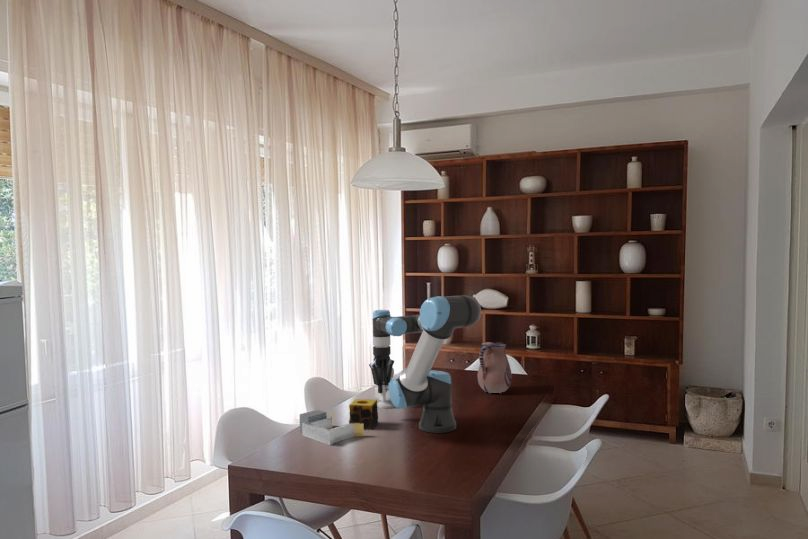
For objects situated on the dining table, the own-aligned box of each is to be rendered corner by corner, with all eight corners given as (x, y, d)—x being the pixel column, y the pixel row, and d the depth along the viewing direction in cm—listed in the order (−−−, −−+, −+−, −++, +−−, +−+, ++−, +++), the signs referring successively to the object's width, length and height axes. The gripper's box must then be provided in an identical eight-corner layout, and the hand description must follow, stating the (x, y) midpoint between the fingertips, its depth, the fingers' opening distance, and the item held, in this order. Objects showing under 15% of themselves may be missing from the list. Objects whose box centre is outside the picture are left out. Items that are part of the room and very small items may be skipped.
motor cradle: (365, 435, 220) (364, 418, 219) (332, 446, 208) (332, 427, 208) (327, 423, 237) (326, 407, 236) (295, 432, 225) (294, 415, 225)
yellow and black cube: (372, 430, 227) (372, 405, 227) (348, 429, 229) (348, 404, 229) (378, 422, 237) (378, 399, 237) (355, 421, 239) (355, 398, 239)
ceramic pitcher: (517, 390, 289) (516, 342, 289) (501, 399, 272) (500, 348, 271) (486, 386, 299) (485, 340, 298) (468, 395, 281) (468, 345, 281)
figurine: (395, 409, 257) (394, 367, 256) (370, 407, 262) (370, 365, 261) (403, 404, 265) (403, 364, 265) (379, 402, 270) (379, 362, 270)
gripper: (386, 343, 248) (387, 395, 248) (364, 346, 238) (365, 401, 239) (398, 344, 242) (399, 398, 243) (376, 348, 233) (377, 404, 234)
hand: (382, 400), depth 241 cm, fingers closed
